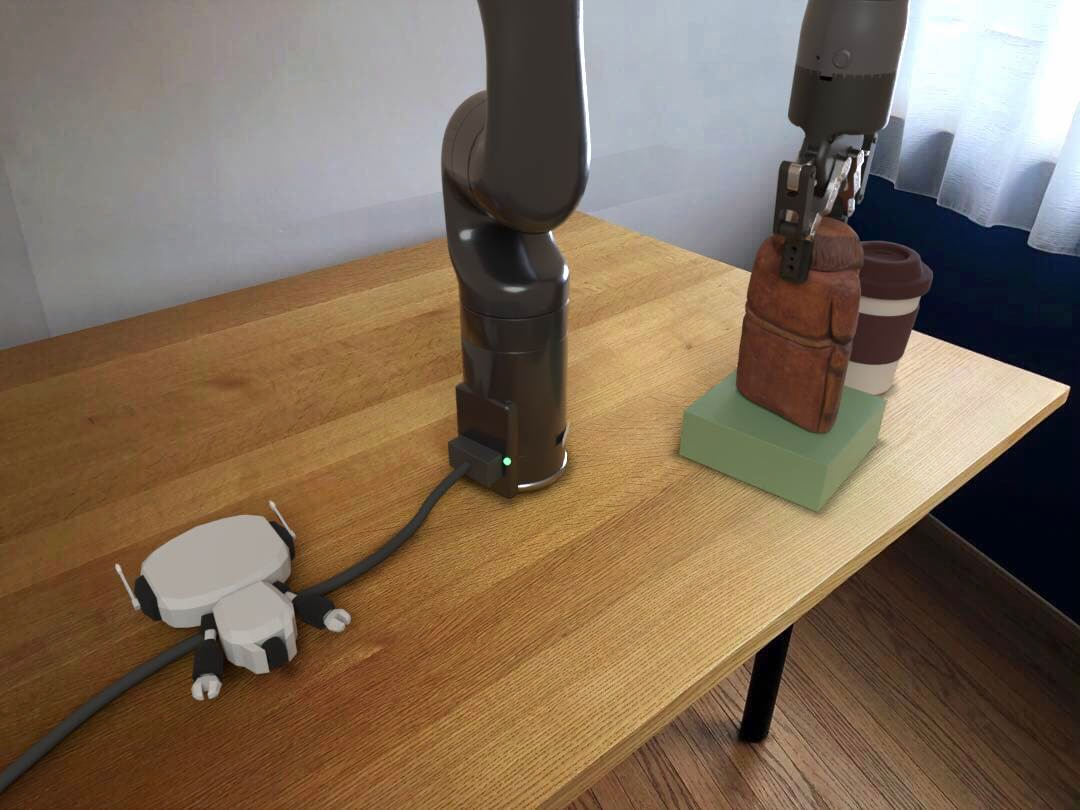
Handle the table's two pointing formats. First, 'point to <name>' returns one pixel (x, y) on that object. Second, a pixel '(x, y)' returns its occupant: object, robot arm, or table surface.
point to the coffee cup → (885, 313)
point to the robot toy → (231, 595)
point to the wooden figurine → (802, 328)
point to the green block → (779, 442)
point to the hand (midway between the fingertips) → (810, 268)
